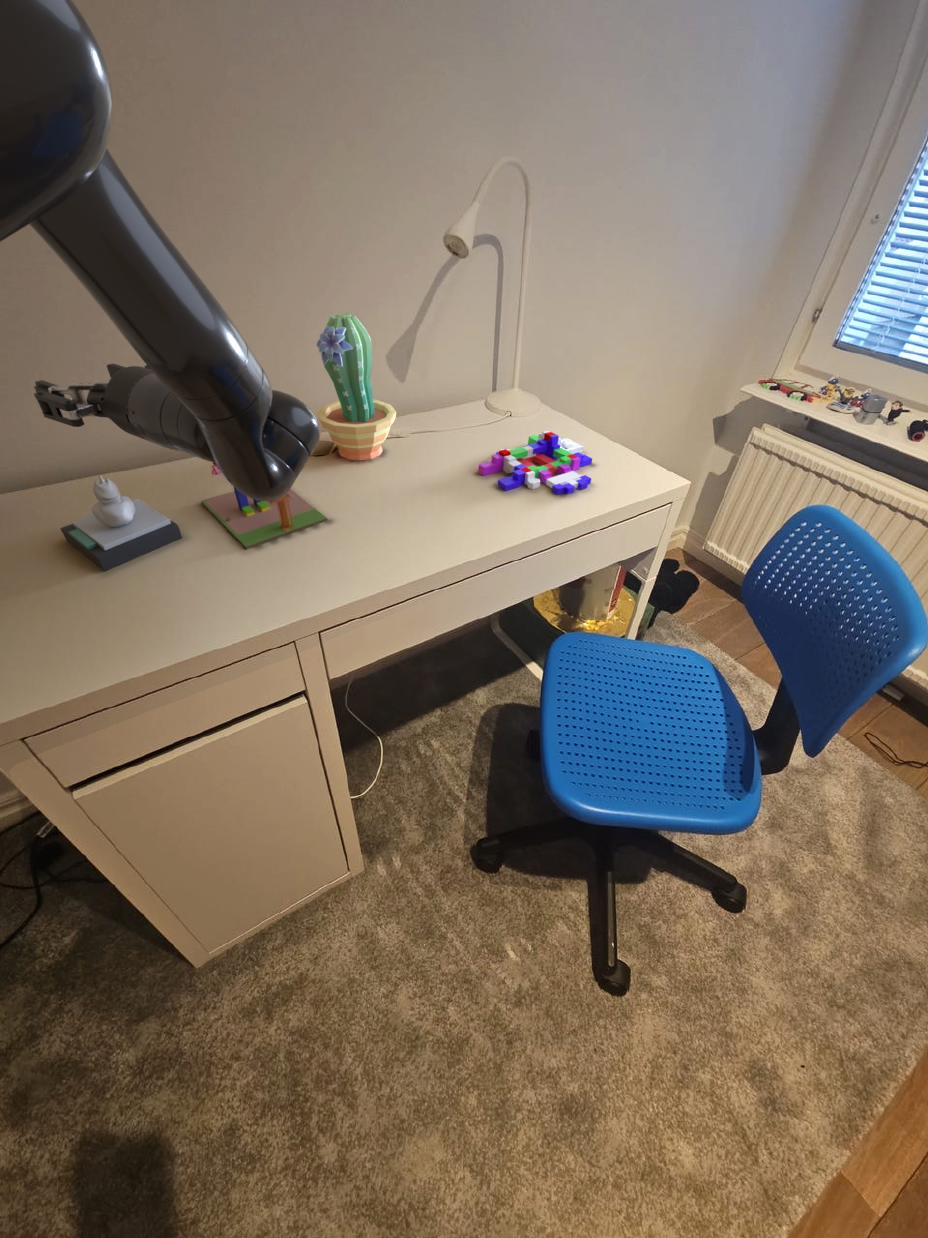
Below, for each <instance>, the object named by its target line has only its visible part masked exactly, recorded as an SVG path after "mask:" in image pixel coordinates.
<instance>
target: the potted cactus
mask: <svg viewBox="0 0 928 1238" xmlns="http://www.w3.org/2000/svg"><path fill="white" fill-rule="evenodd" d="M315 344H316V347H317V348H318V353H320V356H321V361H322V365H323V367H324V369H325V370H326V372H327V374H328V376H329V378H330V380H331V382H332V383H333V386H334V389H335V392H336V395H337V398H338V400H337V401H334V402H331V403H328V404H325V405H323V406H322V407H321V408H320V409H319V410H317V412H316V414H317V417H318V421H319V422H320V424H321V426H322V428H323V429H326V431H327V433H328V435H329V437H330V439H331V441H332V442H333V444H334V445H335V446H336V447H337V448H338V449H337V450H338V452H337V453H338V454H339V456H340V457H341V458H345V459H347V460H352V461H365V460H373V459H375V458H377V457H379V456H381V454H382V453H383V451H384V450H383V447H382V445H383V443H384V442H385V440H386V439H387V437H388V435H389V433H390V429H391V426H392V425H393V424H394V422H395V420H396V416H397V411H396V410H395V408H394V407H393V406H392V405H391V404H389V403H386V402H383V401H380V400H378V399H374V394H373V393H374V392H373V388H372V381H371V376H372V369H373V341H372V338H371V337H370V334H369V332H368V331H367V329H366V328H365V326H364V325H363V323H361V321H360V320H359V319H358V317H357V316H356V315H355V314H352V315H351V313H350V312H346V313H345V314H344V315H343V314H340V313H339V312H338V313H335V316H333V315H330V317H329V319H328V321H327V323H326V325H325V327H324V329H323V331H322V332H321V333H320V334H319V339H318V340H317V342H316V343H315Z"/></svg>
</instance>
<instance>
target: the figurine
mask: <svg viewBox="0 0 928 1238" xmlns="http://www.w3.org/2000/svg"><path fill="white" fill-rule="evenodd" d="M212 464H213V465H211V470H210V472H211V474H212V475H213V476H216V475H217V476H221V475H222V472H221V471H220V469H219V467H218V466H217V464H216V463H215V462H212ZM232 487H233V490H234V491H231V492H227V493H223V494H221V495H217V496H214V497H210V498H206V499H204V500H201V501H200V502H201V504H202V506H204V507H205V508H206V509H207V510H208V512H210V513H211V515H212V516H214V518H215V519H216V520H217V521H218V522H219V523H220V524H221V525H222V526H223V527H224V528H225V529H226V530H227V531H228V532H229V533H230V534H231V535H232V536H233V537H234V538H235V539H236V540H237V541H238V542H239V543H240V545H242V547H244V548H245V549H246V550H249V549H251V548H254V547H257V546H260V545H262V544H266V543H269V542H271V541H274V540H276V539H279V538H283V537H285V536H287V535H290V534H293V533H296V532H299V531H301V530H305V529H307V528H310V527H313V526H315V525H318V524H321V523H324V522H327V521H328V517H327V516H325V515H324V514H323V513H322V512H320V511H319V510H317V508H315V507H314V506H313V505H311V504H310V503H309V502H308V501H306V500H305V499H303V498H302V497H301V496H300V495H299V494H298V493H296V492H295V491H294V490H293V489H291V488H290V490H289V491H288V492H287V493H286V494H285V495H284V496H283V497H282V498H280V499H277V500H274V501H258V500H255V499H252V498H249V497H248V496H246V495H244V494H242V493H241V492H240V491H238V490H237V489H236V488H235V487H234V486H233V485H232Z"/></svg>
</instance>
